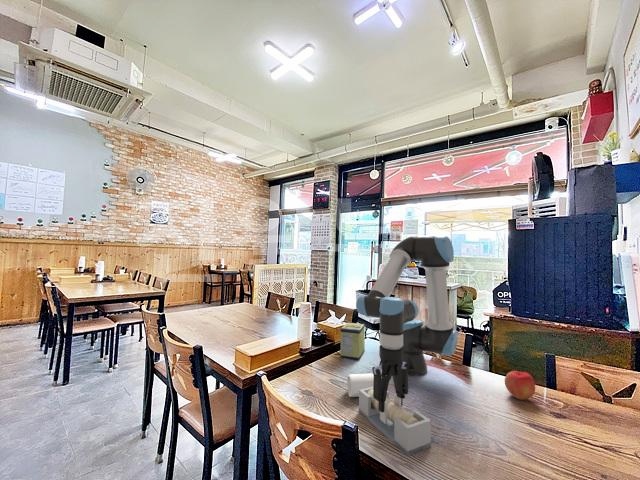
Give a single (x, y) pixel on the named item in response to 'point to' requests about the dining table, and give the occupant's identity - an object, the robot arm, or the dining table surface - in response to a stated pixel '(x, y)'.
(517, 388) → the apple
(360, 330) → the protein box
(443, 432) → the dining table surface
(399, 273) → the robot arm
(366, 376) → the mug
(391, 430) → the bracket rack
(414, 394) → the dining table surface
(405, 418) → the beige beaded rod
